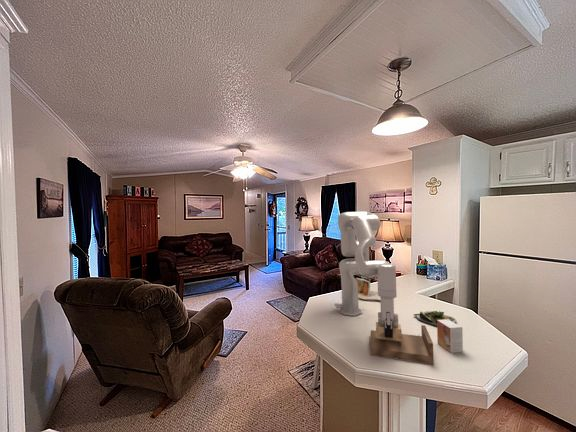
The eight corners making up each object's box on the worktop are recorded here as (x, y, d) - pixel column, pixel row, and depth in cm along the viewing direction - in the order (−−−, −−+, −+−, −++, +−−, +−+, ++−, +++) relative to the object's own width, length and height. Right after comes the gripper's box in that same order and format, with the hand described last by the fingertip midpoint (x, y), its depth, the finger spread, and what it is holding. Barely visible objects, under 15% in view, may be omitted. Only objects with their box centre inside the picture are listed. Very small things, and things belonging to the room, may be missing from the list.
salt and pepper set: (376, 338, 106) (375, 315, 106) (376, 333, 111) (375, 310, 111) (401, 341, 103) (401, 317, 103) (400, 335, 107) (399, 313, 107)
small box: (437, 343, 109) (436, 319, 109) (449, 342, 109) (448, 318, 109) (450, 353, 101) (449, 327, 101) (463, 352, 101) (462, 326, 101)
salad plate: (428, 310, 146) (428, 302, 146) (463, 321, 131) (462, 312, 131) (410, 319, 135) (409, 310, 135) (445, 331, 120) (445, 322, 120)
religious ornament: (346, 295, 178) (346, 278, 178) (369, 291, 185) (368, 275, 185) (369, 306, 155) (369, 287, 155) (394, 301, 162) (393, 283, 162)
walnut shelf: (370, 354, 102) (369, 335, 102) (370, 336, 117) (370, 319, 117) (433, 364, 94) (433, 343, 94) (425, 343, 109) (425, 325, 109)
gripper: (377, 286, 116) (379, 324, 116) (378, 298, 100) (379, 342, 100) (395, 287, 114) (396, 326, 114) (398, 299, 97) (399, 345, 97)
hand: (388, 333), depth 107 cm, fingers closed on salt and pepper set, 5 cm apart
